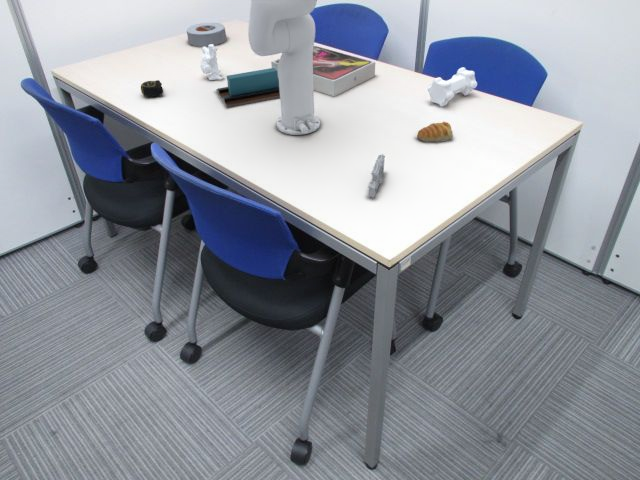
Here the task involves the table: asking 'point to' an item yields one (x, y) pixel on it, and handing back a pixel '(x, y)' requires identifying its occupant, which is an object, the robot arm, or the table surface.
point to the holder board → (247, 96)
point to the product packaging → (337, 70)
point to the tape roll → (206, 34)
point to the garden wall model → (376, 175)
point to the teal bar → (252, 81)
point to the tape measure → (151, 88)
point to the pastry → (436, 132)
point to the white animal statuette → (210, 62)
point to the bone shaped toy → (452, 86)
